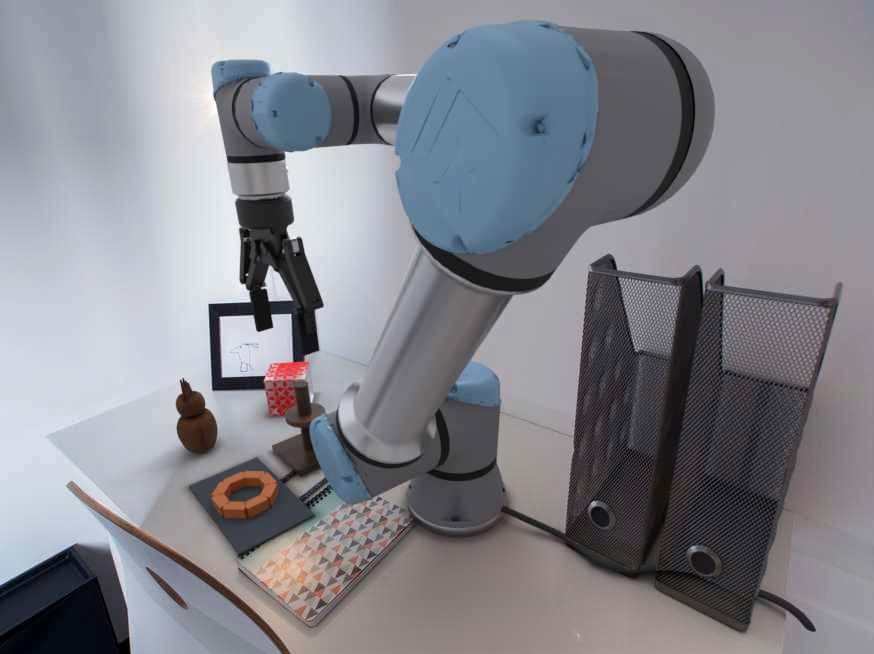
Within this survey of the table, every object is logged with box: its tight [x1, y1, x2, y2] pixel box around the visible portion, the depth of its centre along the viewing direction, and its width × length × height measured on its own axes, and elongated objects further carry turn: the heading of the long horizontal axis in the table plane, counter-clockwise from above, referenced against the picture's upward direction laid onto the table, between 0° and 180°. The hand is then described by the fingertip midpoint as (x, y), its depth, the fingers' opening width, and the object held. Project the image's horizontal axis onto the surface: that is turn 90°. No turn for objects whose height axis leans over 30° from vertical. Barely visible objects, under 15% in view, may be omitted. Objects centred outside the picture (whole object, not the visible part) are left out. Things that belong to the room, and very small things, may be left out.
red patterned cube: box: [263, 361, 315, 417], centre depth 108 cm, size 8×8×8 cm
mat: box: [188, 457, 316, 556], centre depth 83 cm, size 20×12×1 cm, turn 40°
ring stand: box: [271, 381, 327, 478], centre depth 91 cm, size 10×10×14 cm
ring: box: [211, 471, 279, 519], centre depth 83 cm, size 9×9×2 cm
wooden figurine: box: [175, 377, 219, 455], centre depth 93 cm, size 7×6×15 cm
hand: (286, 340), depth 82 cm, fingers open, 13 cm apart
